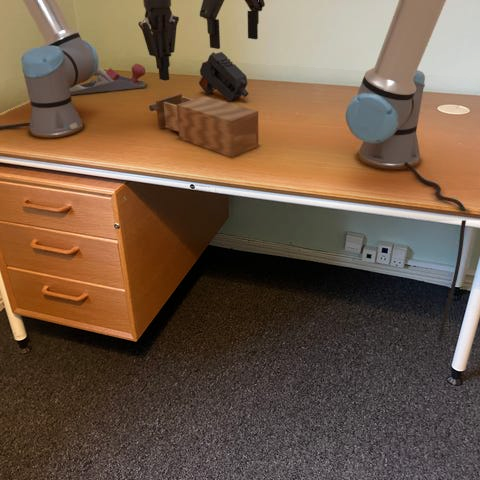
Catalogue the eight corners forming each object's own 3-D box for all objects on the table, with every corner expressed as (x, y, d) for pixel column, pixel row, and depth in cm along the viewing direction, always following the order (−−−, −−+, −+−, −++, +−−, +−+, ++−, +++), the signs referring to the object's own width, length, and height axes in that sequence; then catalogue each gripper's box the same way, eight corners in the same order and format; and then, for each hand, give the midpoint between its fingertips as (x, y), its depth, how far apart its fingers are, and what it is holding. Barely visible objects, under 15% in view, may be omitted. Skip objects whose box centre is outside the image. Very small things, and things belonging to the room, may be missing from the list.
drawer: (146, 123, 163) (143, 96, 159) (169, 115, 169) (167, 89, 164) (205, 143, 148) (203, 114, 144) (227, 134, 154) (227, 106, 149)
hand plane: (62, 90, 197) (53, 48, 189) (145, 82, 205) (140, 41, 197) (62, 96, 191) (54, 53, 184) (148, 87, 199) (143, 45, 191)
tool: (204, 81, 194) (218, 46, 183) (240, 115, 190) (257, 82, 179) (193, 84, 190) (206, 49, 179) (229, 120, 186) (245, 86, 175)
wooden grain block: (179, 138, 154) (176, 104, 149) (205, 128, 161) (203, 96, 155) (232, 157, 142) (231, 121, 136) (258, 146, 148) (258, 110, 143)
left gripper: (165, -12, 150) (172, 72, 163) (128, -7, 142) (138, 81, 155) (183, -10, 146) (189, 76, 158) (145, -5, 138) (155, 86, 150)
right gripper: (255, -58, 131) (256, 33, 142) (179, -52, 116) (187, 50, 127) (279, -58, 126) (278, 36, 138) (203, -51, 111) (208, 54, 122)
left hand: (164, 79), depth 157 cm, fingers closed
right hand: (234, 43), depth 132 cm, fingers open, 13 cm apart
